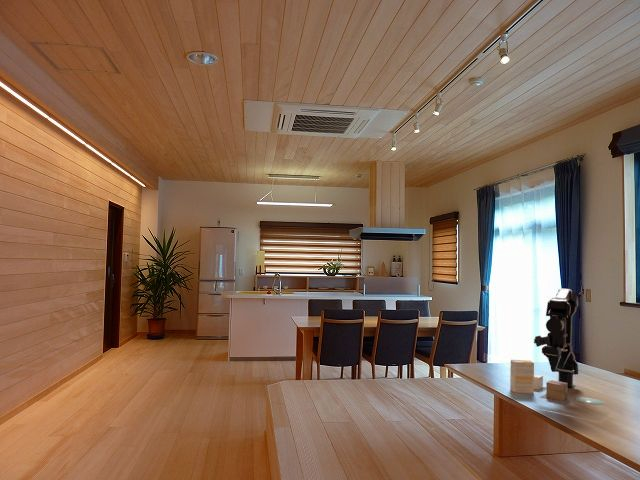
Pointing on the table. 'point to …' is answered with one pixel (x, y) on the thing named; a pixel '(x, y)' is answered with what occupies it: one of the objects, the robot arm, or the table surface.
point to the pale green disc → (590, 401)
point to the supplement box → (522, 376)
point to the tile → (541, 389)
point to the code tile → (558, 400)
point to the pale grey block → (538, 382)
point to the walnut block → (556, 390)
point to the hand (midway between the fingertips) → (557, 370)
